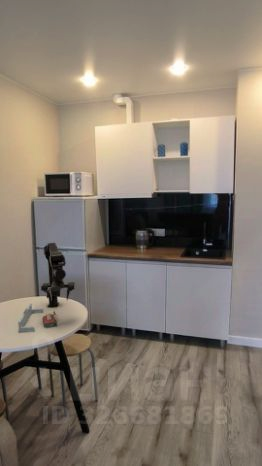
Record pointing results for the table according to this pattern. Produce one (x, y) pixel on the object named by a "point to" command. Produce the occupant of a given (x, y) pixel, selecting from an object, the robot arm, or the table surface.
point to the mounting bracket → (25, 318)
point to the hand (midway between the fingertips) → (59, 300)
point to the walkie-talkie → (50, 320)
